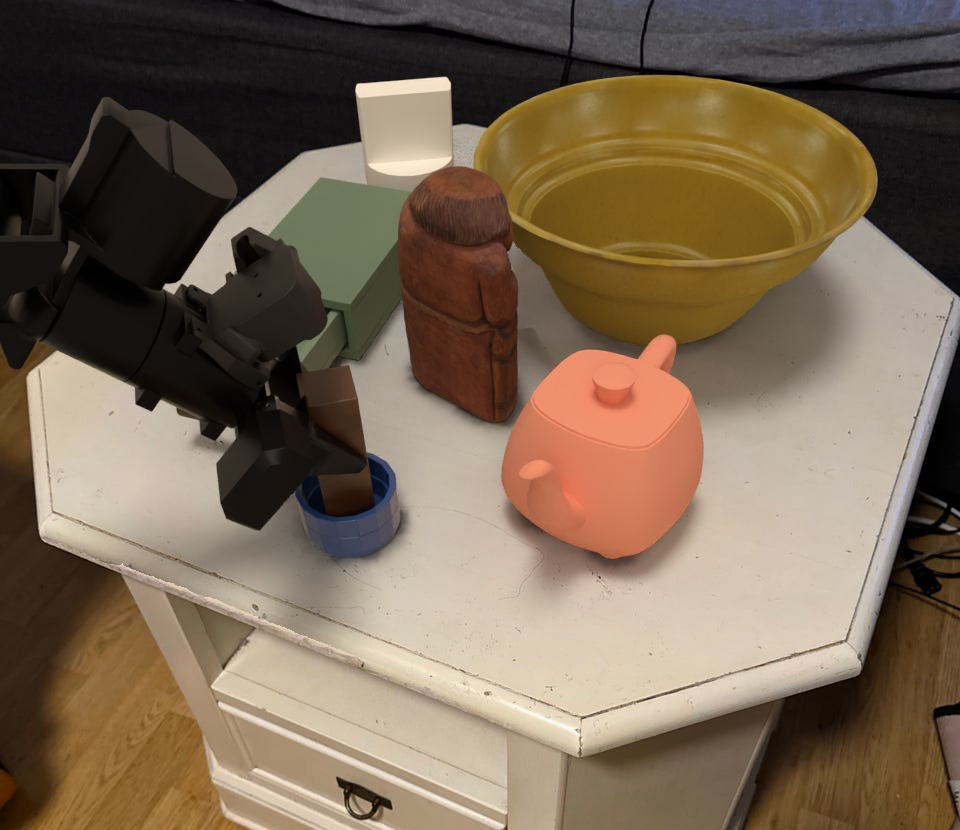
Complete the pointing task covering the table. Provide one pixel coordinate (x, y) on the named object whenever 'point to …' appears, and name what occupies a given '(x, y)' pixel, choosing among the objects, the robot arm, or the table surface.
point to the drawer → (317, 346)
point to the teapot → (607, 450)
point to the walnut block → (339, 436)
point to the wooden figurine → (461, 290)
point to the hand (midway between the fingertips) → (359, 448)
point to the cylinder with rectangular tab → (405, 130)
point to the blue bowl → (352, 531)
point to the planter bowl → (672, 197)
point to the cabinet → (349, 252)
